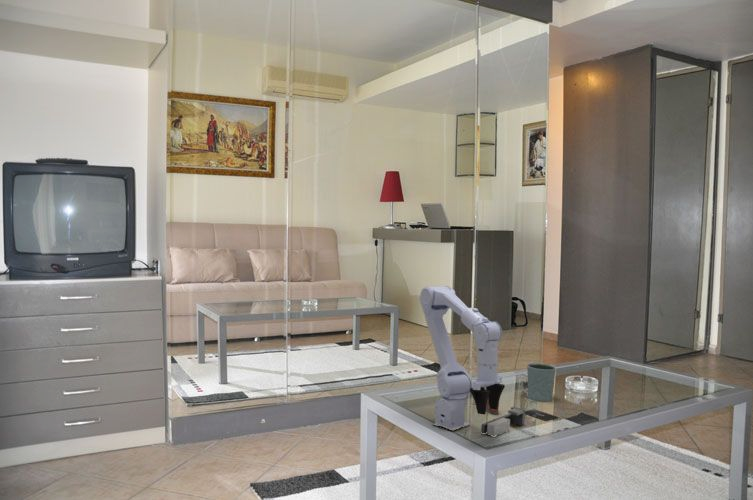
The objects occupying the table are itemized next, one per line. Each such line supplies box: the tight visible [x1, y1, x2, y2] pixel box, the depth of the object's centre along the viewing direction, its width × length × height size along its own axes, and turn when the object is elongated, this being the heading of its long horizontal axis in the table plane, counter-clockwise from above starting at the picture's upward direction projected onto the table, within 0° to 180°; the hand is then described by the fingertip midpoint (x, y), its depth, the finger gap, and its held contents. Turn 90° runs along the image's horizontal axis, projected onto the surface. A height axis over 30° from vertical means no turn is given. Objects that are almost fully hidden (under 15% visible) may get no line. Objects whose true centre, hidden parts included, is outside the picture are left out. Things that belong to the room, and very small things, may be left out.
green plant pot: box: [526, 362, 557, 403], centre depth 224 cm, size 10×10×12 cm
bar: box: [486, 418, 511, 436], centre depth 183 cm, size 9×2×4 cm, turn 138°
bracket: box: [480, 406, 526, 433], centre depth 187 cm, size 18×4×5 cm, turn 138°
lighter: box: [484, 387, 500, 416], centre depth 204 cm, size 8×3×10 cm, turn 21°
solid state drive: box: [525, 408, 559, 422], centre depth 203 cm, size 7×10×1 cm
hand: (487, 411), depth 175 cm, fingers open, 7 cm apart
